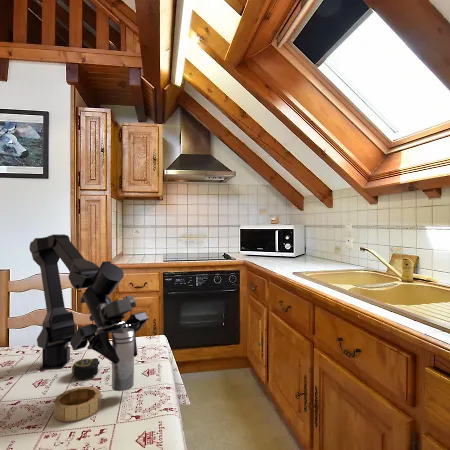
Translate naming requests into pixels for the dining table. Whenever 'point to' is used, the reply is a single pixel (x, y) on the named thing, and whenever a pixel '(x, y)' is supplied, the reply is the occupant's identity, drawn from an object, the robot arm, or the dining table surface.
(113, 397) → the dining table surface
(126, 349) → the grey metal cylinder
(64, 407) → the ring collar
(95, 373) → the tape measure
